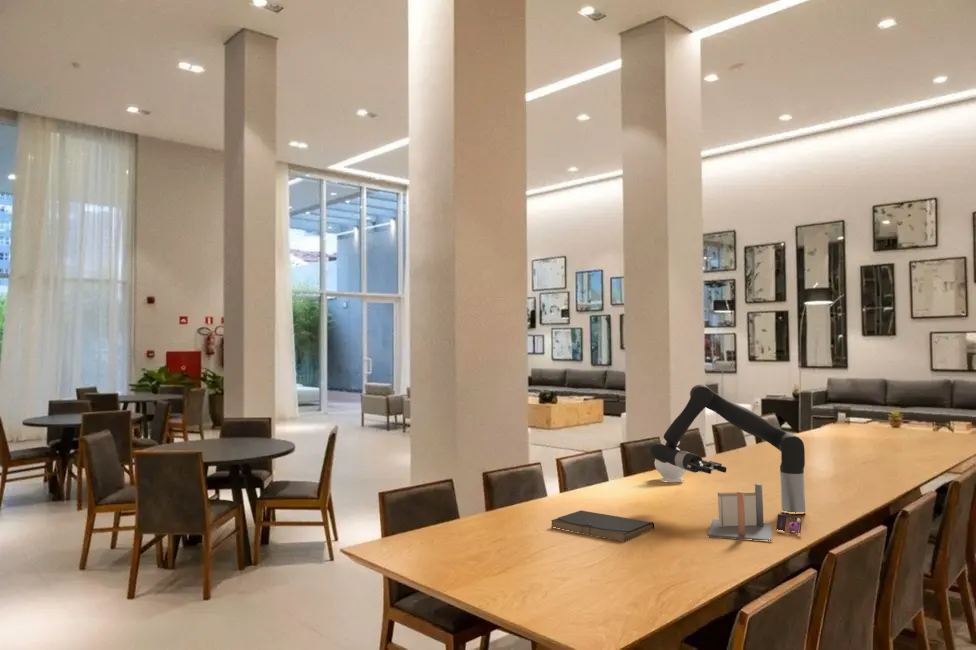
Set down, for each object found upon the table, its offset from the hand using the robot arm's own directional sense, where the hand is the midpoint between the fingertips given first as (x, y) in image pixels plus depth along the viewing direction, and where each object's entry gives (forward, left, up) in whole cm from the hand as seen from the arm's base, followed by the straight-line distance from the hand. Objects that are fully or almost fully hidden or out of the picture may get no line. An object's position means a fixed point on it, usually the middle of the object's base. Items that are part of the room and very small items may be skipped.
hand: (718, 470), depth 261 cm
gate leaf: (+5, +7, -20) cm, 22 cm away
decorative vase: (-87, -30, -22) cm, 94 cm away
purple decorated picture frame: (+4, +26, -22) cm, 34 cm away
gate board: (+8, +8, -22) cm, 24 cm away
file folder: (+21, -43, -22) cm, 53 cm away
